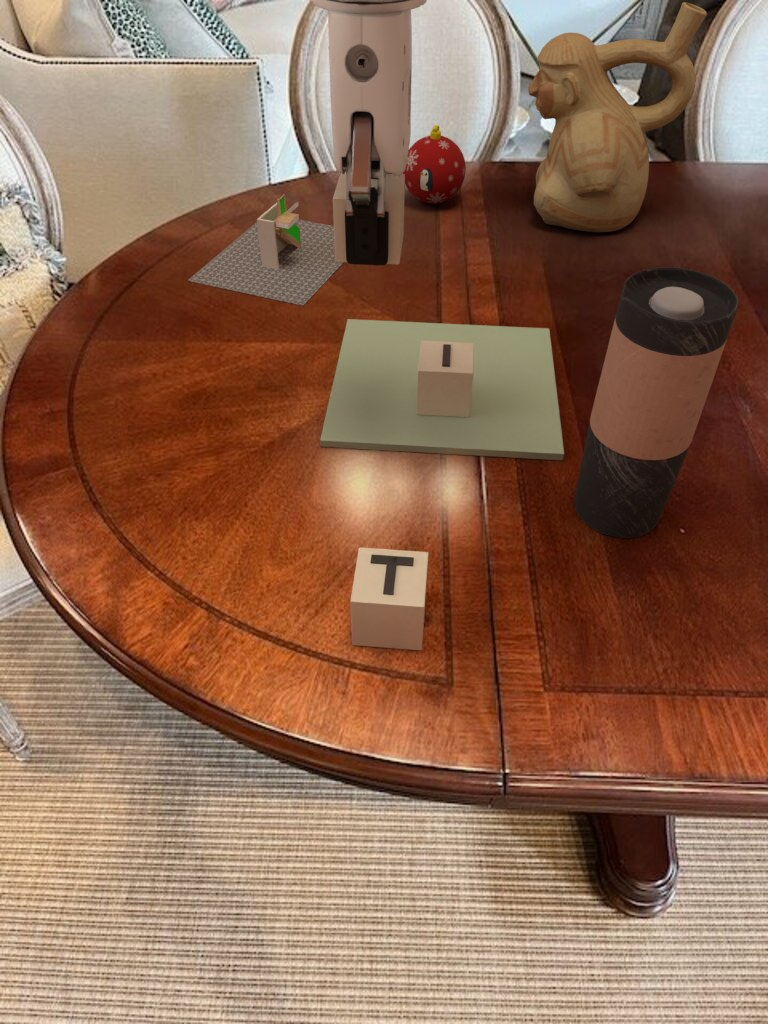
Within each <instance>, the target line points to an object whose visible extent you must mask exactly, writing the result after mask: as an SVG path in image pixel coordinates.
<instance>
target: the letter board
mask: <svg viewBox="0 0 768 1024" xmlns="http://www.w3.org/2000/svg"><path fill="white" fill-rule="evenodd" d="M421 341H440V342H461V343H474V374H473V385H472V395H471V405H470V415H469V417H453V416H434V415H417V414H416V406H417V380H418V364H419V354H420V343H421ZM331 385H332V386H331V390H330V396H329V399H328V404H327V408H326V412H325V417H324V421H323V426H322V430H321V435H320V439H319V446H320V447H321V448H336V449H351V450H352V449H353V450H369V451H370V450H372V451H389V452H407V453H421V454H422V453H425V454H442V455H443V454H444V455H456V456H457V455H459V456H477V457H493V458H495V457H496V458H497V457H498V458H513V459H527V460H529V459H530V460H545V461H546V460H547V461H564V458H565V448H564V441H563V431H562V423H561V414H560V406H559V398H558V390H557V381H556V373H555V364H554V356H553V347H552V340H551V332H550V328H548V327H526V326H524V327H523V326H507V325H505V326H504V325H485V324H483V325H482V324H464V323H463V324H462V323H461V324H460V323H441V322H440V323H439V322H420V321H418V322H417V321H397V320H379V319H378V320H377V319H356V318H355V319H354V318H347V319H346V323H345V329H344V332H343V337H342V341H341V346H340V350H339V355H338V360H337V364H336V368H335V372H334V377H333V381H332V384H331Z"/></svg>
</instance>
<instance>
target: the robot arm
mask: <svg viewBox="0 0 768 1024" xmlns="http://www.w3.org/2000/svg"><path fill="white" fill-rule="evenodd" d="M310 3H312V5H314V6H316V7H317V8H320V9H323V10H327V17H328V18H327V22H328V24H327V26H328V56H329V57H328V59H329V60H328V61H329V64H328V65H329V66H328V67H329V87H330V88H329V90H330V91H329V92H330V93H329V95H330V96H329V97H330V114H331V115H330V116H331V133H332V134H331V135H332V148H333V149H332V151H333V159H334V160H333V161H334V167H335V169H336V170H337V171H338V172H339V173H340V174H341V173H342V174H345V172H346V210H345V238H346V261H347V262H346V263H347V264H349V265H363V266H386V265H388V264H387V262H388V229H389V212H385V185H386V174H395V176H400V175H401V174H403V172H404V170H405V168H406V163H407V157H408V151H409V149H410V144H411V135H412V73H413V72H412V71H413V70H412V69H413V64H412V63H413V62H412V61H413V29H412V28H413V27H412V10H415V9H418V8H420V7H421V6H424V5H425V4H426V3H427V0H310ZM371 179H377V192H376V189H375V187H371Z"/></svg>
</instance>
